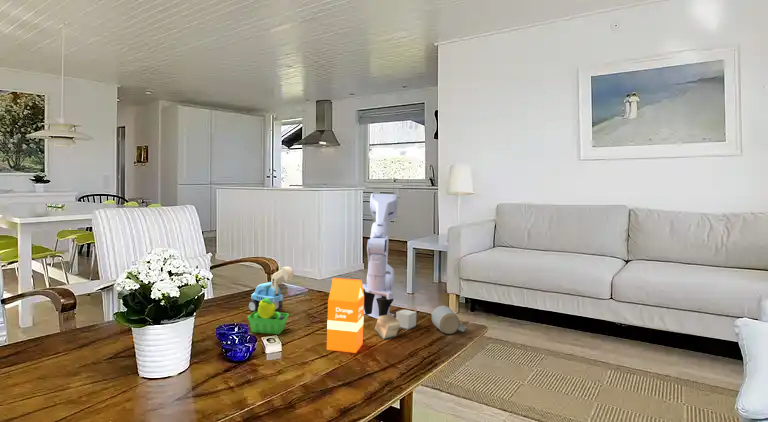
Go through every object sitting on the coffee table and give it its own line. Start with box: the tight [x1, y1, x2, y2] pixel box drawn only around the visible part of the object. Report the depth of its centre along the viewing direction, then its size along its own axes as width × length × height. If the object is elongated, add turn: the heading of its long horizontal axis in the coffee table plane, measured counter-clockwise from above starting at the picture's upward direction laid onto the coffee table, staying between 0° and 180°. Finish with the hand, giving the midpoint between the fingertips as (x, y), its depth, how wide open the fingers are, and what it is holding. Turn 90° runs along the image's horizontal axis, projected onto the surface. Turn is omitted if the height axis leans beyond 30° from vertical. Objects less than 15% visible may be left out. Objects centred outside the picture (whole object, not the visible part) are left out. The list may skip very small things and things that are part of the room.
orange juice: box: [326, 277, 365, 354], centre depth 136 cm, size 8×9×20 cm
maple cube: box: [374, 313, 400, 340], centre depth 147 cm, size 5×5×5 cm
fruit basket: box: [247, 298, 290, 335], centre depth 148 cm, size 11×9×11 cm
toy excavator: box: [247, 266, 295, 312], centre depth 169 cm, size 9×17×17 cm, turn 60°
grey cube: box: [395, 308, 417, 331], centre depth 158 cm, size 5×5×5 cm
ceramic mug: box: [431, 305, 467, 335], centre depth 155 cm, size 11×8×8 cm
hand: (375, 316), depth 151 cm, fingers open, 7 cm apart
